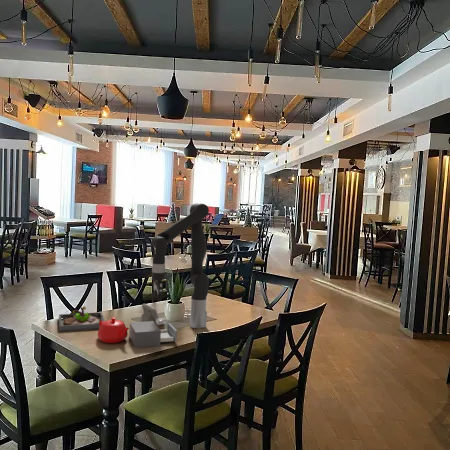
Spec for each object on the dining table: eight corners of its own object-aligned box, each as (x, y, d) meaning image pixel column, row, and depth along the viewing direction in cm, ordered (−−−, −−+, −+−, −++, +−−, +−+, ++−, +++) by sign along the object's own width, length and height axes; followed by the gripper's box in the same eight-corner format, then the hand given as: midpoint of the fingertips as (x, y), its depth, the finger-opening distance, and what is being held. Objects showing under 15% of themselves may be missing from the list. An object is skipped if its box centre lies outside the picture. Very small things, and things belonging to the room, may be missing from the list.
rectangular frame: (101, 316, 266) (101, 312, 266) (105, 328, 243) (106, 323, 243) (59, 319, 256) (59, 314, 256) (59, 331, 233) (59, 326, 233)
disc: (165, 321, 246) (165, 317, 246) (168, 324, 240) (168, 320, 240) (154, 321, 244) (154, 318, 244) (157, 325, 238) (157, 321, 238)
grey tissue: (160, 325, 254) (161, 308, 253) (146, 327, 250) (146, 309, 249) (153, 318, 268) (154, 302, 268) (139, 319, 264) (140, 303, 264)
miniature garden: (70, 331, 236) (71, 311, 235) (59, 322, 251) (60, 304, 251) (104, 326, 248) (105, 307, 248) (92, 318, 264) (93, 300, 263)
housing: (152, 335, 236) (153, 321, 235) (160, 345, 219) (160, 330, 219) (129, 336, 231) (129, 322, 230) (135, 347, 214) (135, 332, 214)
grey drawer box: (169, 332, 238) (170, 322, 237) (177, 341, 224) (177, 330, 224) (147, 334, 233) (147, 324, 232) (153, 343, 219) (153, 332, 219)
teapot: (87, 338, 225) (87, 315, 224) (111, 332, 237) (112, 310, 237) (115, 350, 210) (116, 326, 209) (140, 343, 222) (141, 320, 221)
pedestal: (163, 330, 245) (163, 321, 245) (165, 332, 241) (165, 323, 241) (156, 330, 244) (157, 322, 243) (158, 332, 240) (158, 324, 240)
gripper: (168, 273, 235) (167, 301, 236) (162, 268, 248) (161, 295, 249) (154, 273, 232) (154, 302, 233) (149, 269, 245) (149, 296, 246)
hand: (157, 299), depth 241 cm, fingers open, 8 cm apart
